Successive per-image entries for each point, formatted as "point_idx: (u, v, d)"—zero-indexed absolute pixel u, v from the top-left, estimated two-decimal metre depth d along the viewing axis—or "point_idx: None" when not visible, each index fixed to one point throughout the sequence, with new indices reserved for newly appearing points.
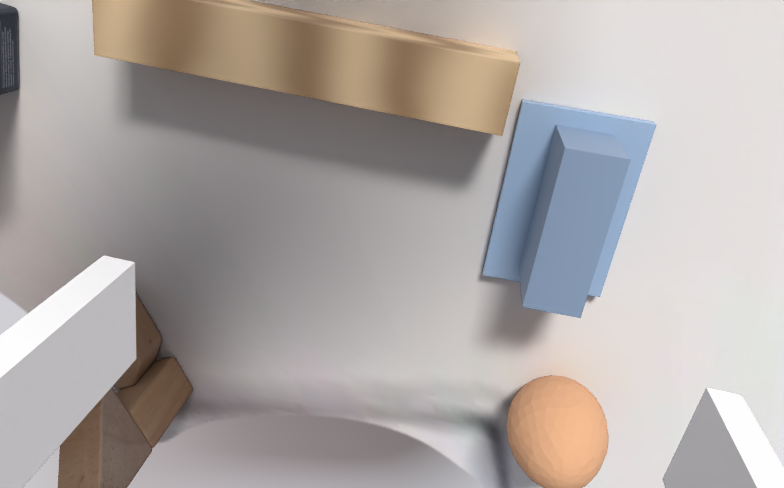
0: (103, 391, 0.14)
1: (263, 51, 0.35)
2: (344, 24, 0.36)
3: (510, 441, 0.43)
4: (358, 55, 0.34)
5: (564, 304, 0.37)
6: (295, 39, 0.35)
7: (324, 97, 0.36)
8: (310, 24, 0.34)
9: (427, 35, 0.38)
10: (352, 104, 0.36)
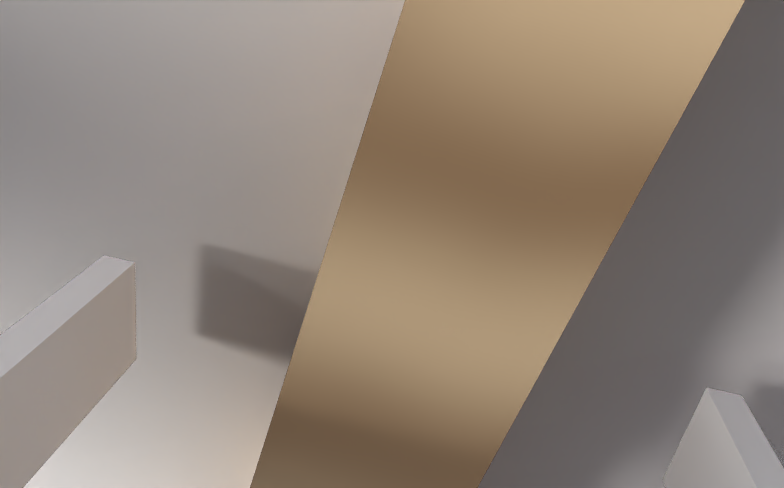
0: (103, 391, 0.14)
1: None
2: None
3: None
4: (385, 303, 0.10)
5: None
6: (314, 453, 0.12)
7: (498, 428, 0.11)
8: (278, 408, 0.11)
9: None
10: (542, 357, 0.10)
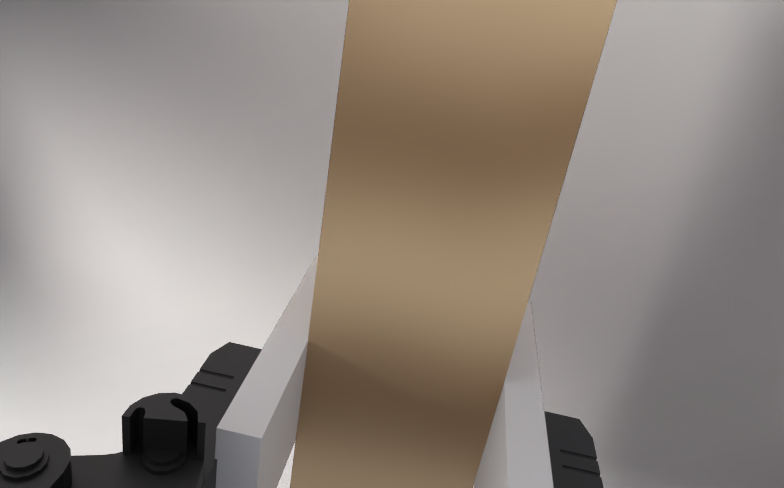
0: None
1: (376, 483, 0.14)
2: None
3: None
4: (380, 266, 0.12)
5: None
6: (344, 411, 0.13)
7: (499, 365, 0.12)
8: (306, 374, 0.13)
9: None
10: (524, 294, 0.12)
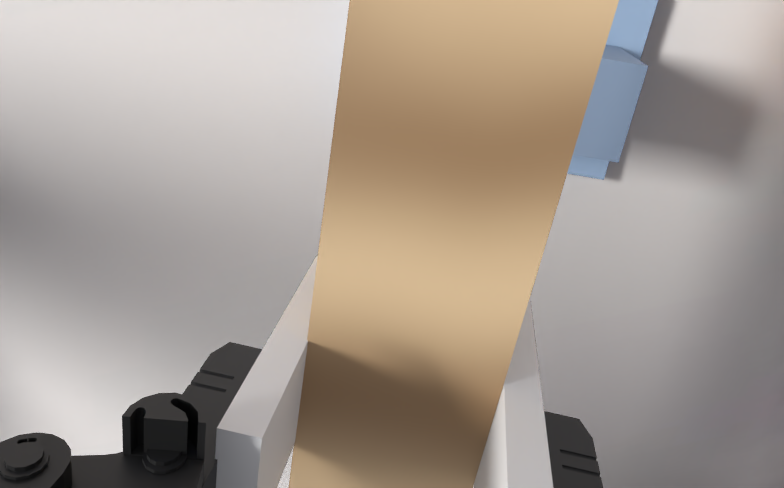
0: None
1: (375, 486, 0.14)
2: None
3: None
4: (380, 269, 0.12)
5: (618, 95, 0.22)
6: (343, 414, 0.13)
7: (498, 369, 0.12)
8: (305, 377, 0.13)
9: None
10: (523, 298, 0.12)
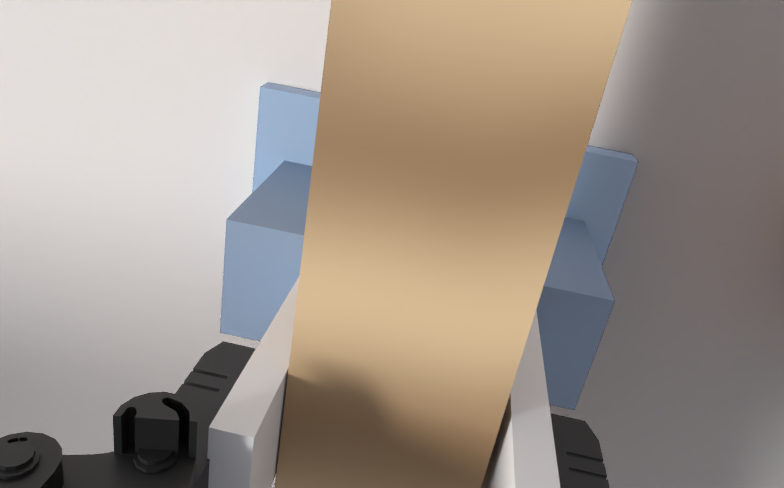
0: None
1: None
2: None
3: None
4: (367, 296, 0.11)
5: (573, 332, 0.16)
6: (327, 450, 0.12)
7: (496, 402, 0.11)
8: (286, 410, 0.12)
9: None
10: (524, 327, 0.11)
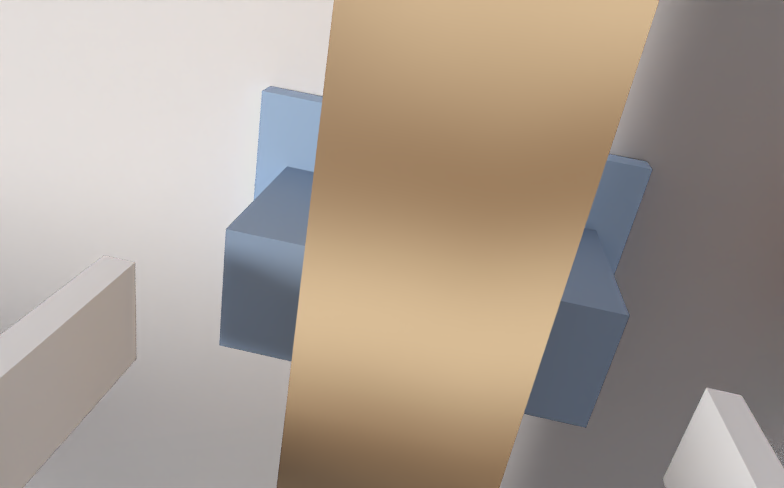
0: (103, 391, 0.14)
1: None
2: None
3: None
4: (370, 316, 0.10)
5: (586, 348, 0.16)
6: (329, 475, 0.12)
7: (507, 428, 0.11)
8: (285, 433, 0.11)
9: None
10: (537, 350, 0.10)
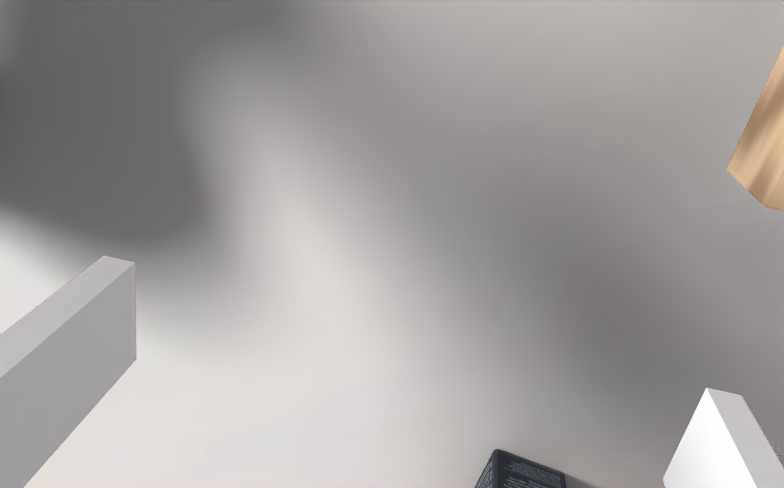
0: (103, 391, 0.14)
1: None
2: None
3: None
4: None
5: None
6: None
7: None
8: None
9: None
10: None
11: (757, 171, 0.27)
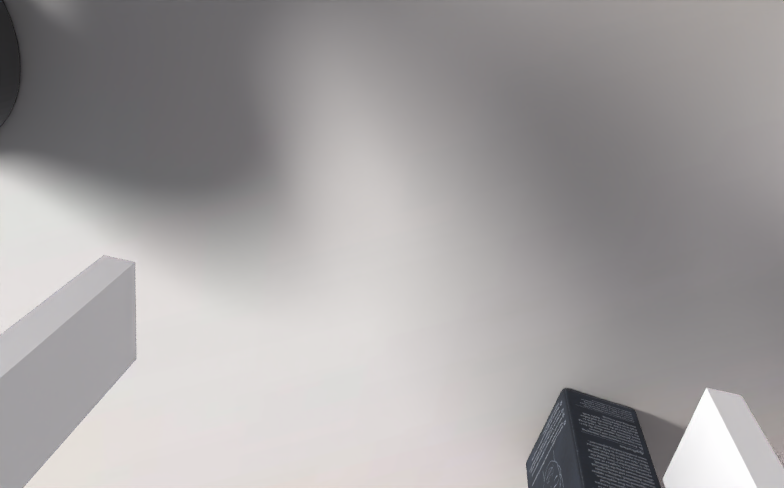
0: (103, 391, 0.14)
1: None
2: None
3: None
4: None
5: None
6: None
7: None
8: None
9: None
10: None
11: None
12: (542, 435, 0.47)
